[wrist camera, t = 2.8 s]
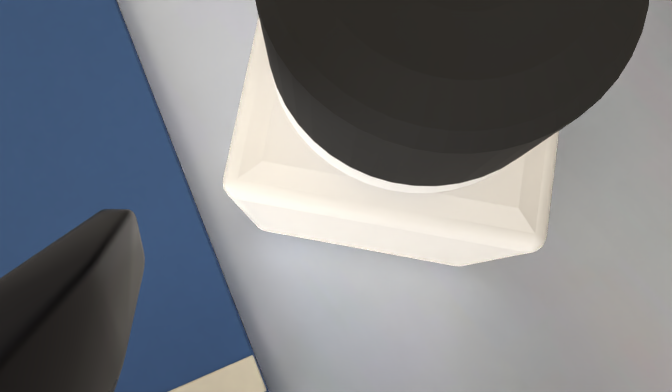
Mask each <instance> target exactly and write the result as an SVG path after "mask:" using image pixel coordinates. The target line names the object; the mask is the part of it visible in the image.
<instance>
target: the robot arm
mask: <svg viewBox="0 0 672 392" xmlns="http://www.w3.org/2000/svg"><path fill="white" fill-rule="evenodd" d="M144 265H145V256H144V250H143V245H142V241H141V236H140V232H139V227H138V222H137V218H136V216H135V214H134V212H132V211H131V210H129V209H103V210H101V211H99V212H97V213H96V214H94V215H93V216H92V217H90V218H89V219H87V220H86V221H84V222H83V223H81V224H80V225H78V226H77V227H75V228H74V229H72V230H71V231H69V232H68V233H66V234H65V235H63V236H62V237H60V238H59V239H57V240H56V241H54V242H53V243H52V244H50V245H49V246H47V247H46V248H44V249H43V250H41V251H40V252H38V253H37V254H35V255H34V256H32V257H31V258H29V259H28V260H26V261H25V262H23V263H22V264H20V265H19V266H17V267H16V268H14V269H13V270H12V271H10V272H9V273H7V274H6V275H4V276H3V277H1V278H0V392H114V391H115V388H116V385H117V382H118V379H119V376H120V373H121V369H122V366H123V363H124V359H125V354H126V350H127V346H128V341H129V337H130V332H131V328H132V323H133V318H134V314H135V309H136V304H137V300H138V295H139V291H140V286H141V281H142V277H143V272H144Z"/></svg>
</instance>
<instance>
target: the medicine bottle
mask: <svg viewBox="0 0 672 392" xmlns="http://www.w3.org/2000/svg"><path fill="white" fill-rule="evenodd" d="M255 1H256V6H257V10H258V15H259V18H258V22H257V27H256V31H255V36H254V40H253V45H252V49H251V54H250V59H249V63H248V68H247V72H246V77H245V81H244V86H243V90H242V95H241V99H240V104H239V109H238V113H237V118H236V122H235V127H234V131H233V136H232V140H231V145H230V149H229V154H228V159H227V163H226V168H225V172H224V177H223V188H224V190H225V191H226V193H227V194H228V196H229V197H230V198H231V199H232V200H233V201H234V202H235V203H236V204H237V205H238V206H239V208H240V209H241V210H242V211H243V212H244V213H245V214H246V215H247V216H248V217H249V218H250V219H251V220H252V221H253V223H254V224H255V225H256V226H257V227H258V228H259V229H261V230H263V231H267V232H273V233H278V234H284V235H289V236H294V237H300V238H305V239H311V240H316V241H322V242H327V243H332V244H338V245H343V246H349V247H354V248H360V249H365V250H371V251H376V252H381V253H387V254H392V255H398V256H403V257H409V258H414V259H419V260H425V261H430V262H436V263H441V264H447V265H452V266H465V265H470V264H475V263H480V262H485V261H490V260H496V259H501V258H506V257H511V256H516V255H521V254H526V253H532V252H536V251H537V250H538V249H540V248H541V247H542V246H543V245H544V242H545V240H546V238H547V229H548V221H549V212H550V204H551V195H552V187H553V178H554V170H555V161H556V153H557V145H558V136H559V130H561V129H562V128H563V127H565V126H566V125H568V124H569V123H571V122H572V121H574V120H575V119H577V118H578V117H580V116H581V115H582V114H583V113H584V112H585V111H587V110H588V109H589V108H590V107H591V106H593V105H594V104H595V103H596V102H597V101H598V100H600V99H601V98H602V96H603V95H604V94H605V93H606V92H607V91H608V89H609V88H610V87H611V86H612V85H613V84H614V82H615V81H616V80H617V79H618V78H619V76H620V74H621V73H622V71H623V70H624V68H625V66H626V65H627V63H628V62H629V60H630V58H631V57H632V55H633V52H634V50H635V48H636V45H637V43H638V41H639V38H640V36H641V34H642V30H643V26H644V23H645V19H646V15H647V11H648V6H649V0H255Z"/></svg>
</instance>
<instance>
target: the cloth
mask: <svg viewBox="0 0 672 392" xmlns="http://www.w3.org/2000/svg"><path fill="white" fill-rule="evenodd" d="M103 209H129V210H131V211H132V212H134V214H135V216H136V218H137V222H138V227H139V232H140V236H141V241H142V245H143V250H144V256H145V265H144V272H143V277H142V281H141V286H140V291H139V295H138V300H137V304H136V309H135V314H134V318H133V323H132V328H131V332H130V337H129V341H128V346H127V350H126V354H125V359H124V363H123V366H122V369H121V373H120V376H119V379H118V382H117V385H116V388H115V391H114V392H269V391H268V388H267V385H266V383H265V380H264V378H263V375H262V373H261V370H260V368H259V365H258V362H257V360H256V357H255V355H254V352H253V350H252V347H251V344H250V342H249V339H248V337H247V334H246V332H245V329H244V326H243V324H242V321H241V319H240V316H239V314H238V311H237V309H236V306H235V303H234V301H233V298H232V296H231V293H230V291H229V288H228V285H227V283H226V280H225V278H224V275H223V273H222V270H221V268H220V265H219V262H218V260H217V257H216V255H215V252H214V250H213V247H212V244H211V242H210V239H209V237H208V234H207V232H206V229H205V227H204V224H203V221H202V219H201V216H200V214H199V211H198V209H197V206H196V203H195V201H194V198H193V196H192V193H191V191H190V188H189V186H188V183H187V180H186V178H185V175H184V173H183V170H182V168H181V165H180V162H179V160H178V157H177V155H176V152H175V150H174V147H173V145H172V142H171V139H170V137H169V134H168V132H167V129H166V127H165V124H164V121H163V119H162V116H161V114H160V111H159V109H158V106H157V104H156V101H155V98H154V96H153V93H152V91H151V88H150V86H149V83H148V80H147V78H146V75H145V73H144V70H143V68H142V65H141V63H140V60H139V57H138V55H137V52H136V50H135V47H134V45H133V42H132V39H131V37H130V34H129V32H128V29H127V27H126V24H125V21H124V19H123V16H122V14H121V11H120V9H119V6H118V4H117V1H116V0H0V278H1V277H3V276H4V275H6V274H7V273H9V272H10V271H12V270H13V269H14V268H16V267H17V266H19V265H20V264H22V263H23V262H25V261H26V260H28V259H29V258H31V257H32V256H34V255H35V254H37V253H38V252H40V251H41V250H43V249H44V248H46V247H47V246H49V245H50V244H52V243H53V242H54V241H56V240H57V239H59V238H60V237H62V236H63V235H65V234H66V233H68V232H69V231H71V230H72V229H74V228H75V227H77V226H78V225H80V224H81V223H83V222H84V221H86V220H87V219H89V218H90V217H92V216H93V215H94V214H96V213H97V212H99V211H101V210H103Z"/></svg>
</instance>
